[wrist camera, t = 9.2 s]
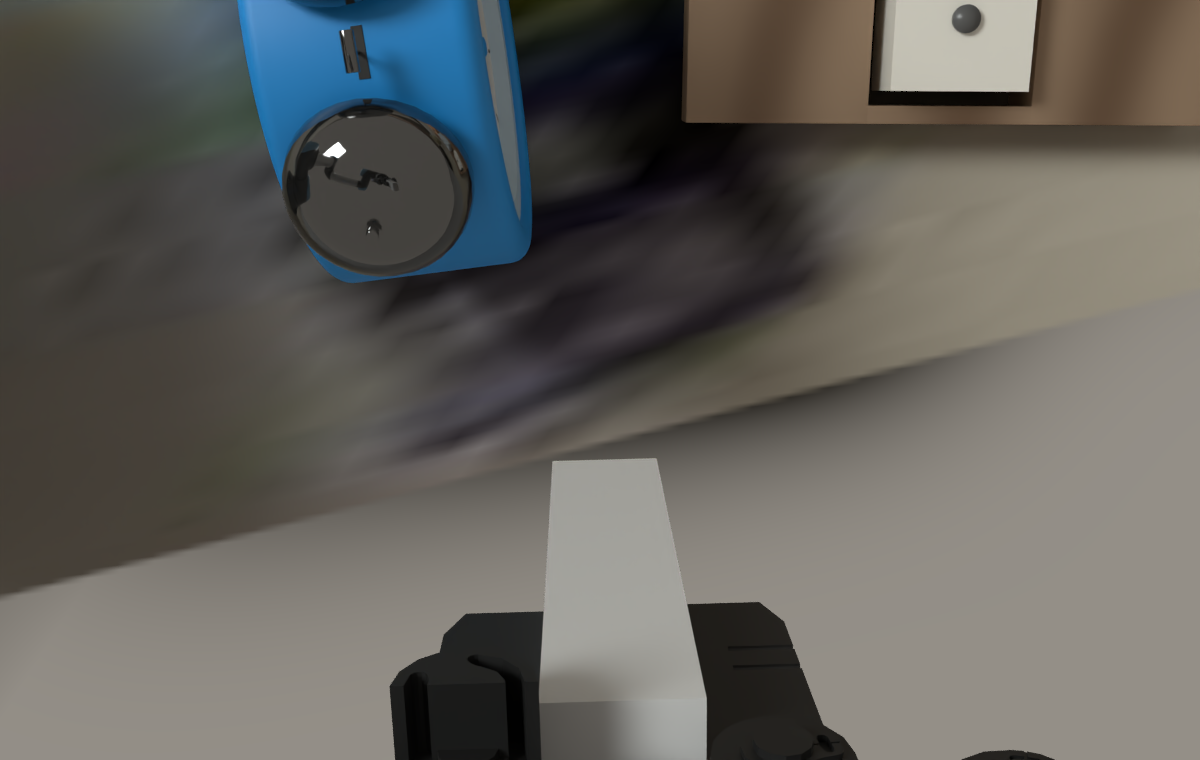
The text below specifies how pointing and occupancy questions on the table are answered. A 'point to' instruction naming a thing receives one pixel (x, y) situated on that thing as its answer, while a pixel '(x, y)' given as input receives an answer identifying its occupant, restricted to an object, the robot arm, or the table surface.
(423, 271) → the alarm clock
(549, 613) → the robot arm
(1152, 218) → the table surface
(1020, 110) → the board
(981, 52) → the tile
